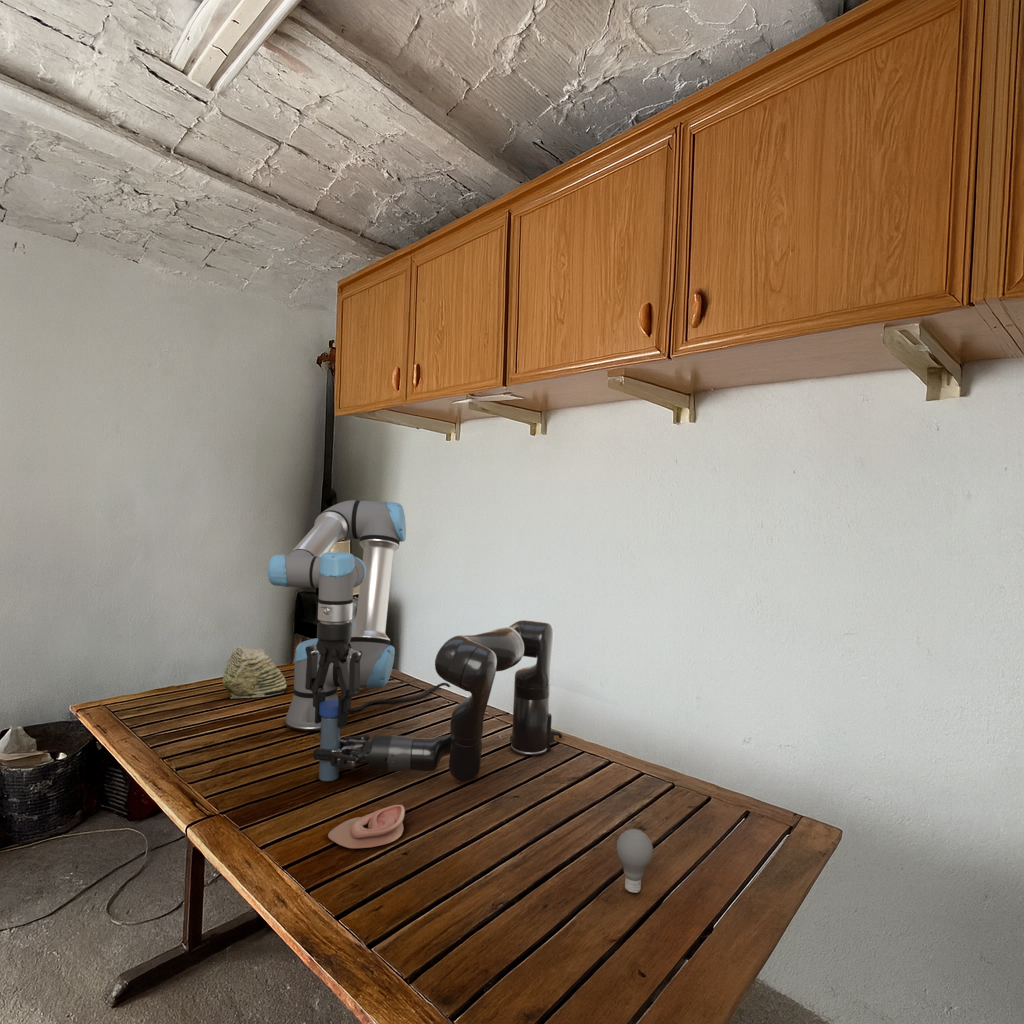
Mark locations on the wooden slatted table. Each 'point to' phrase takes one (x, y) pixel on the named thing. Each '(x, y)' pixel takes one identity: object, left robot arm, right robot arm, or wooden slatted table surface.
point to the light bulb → (634, 857)
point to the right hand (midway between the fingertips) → (318, 749)
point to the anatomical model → (370, 828)
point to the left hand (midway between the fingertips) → (330, 723)
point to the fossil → (252, 674)
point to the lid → (329, 708)
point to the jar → (329, 747)
